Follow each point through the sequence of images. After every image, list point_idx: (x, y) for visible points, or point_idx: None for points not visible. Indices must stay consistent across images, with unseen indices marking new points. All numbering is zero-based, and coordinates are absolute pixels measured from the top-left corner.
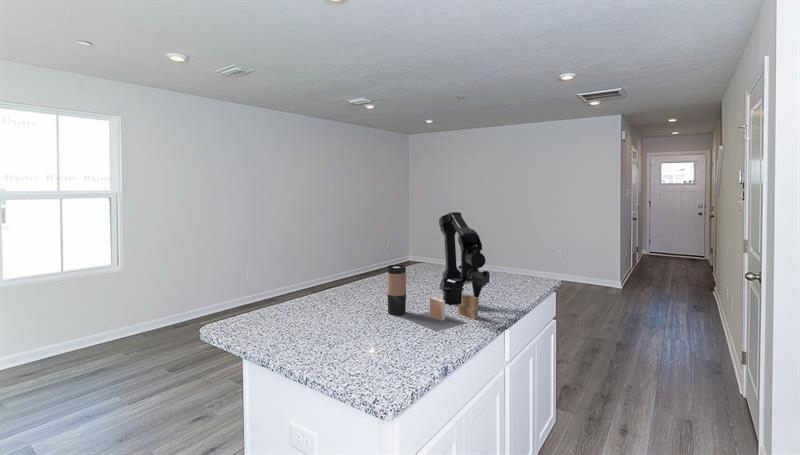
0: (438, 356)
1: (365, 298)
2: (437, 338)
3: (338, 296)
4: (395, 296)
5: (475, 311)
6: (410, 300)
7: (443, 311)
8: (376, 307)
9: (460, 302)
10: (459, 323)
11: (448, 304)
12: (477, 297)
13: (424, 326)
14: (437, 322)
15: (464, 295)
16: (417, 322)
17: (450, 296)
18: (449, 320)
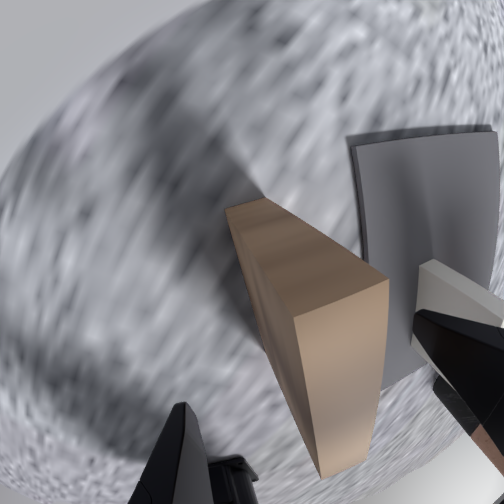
0: (499, 3)
1: (398, 466)
2: (498, 83)
3: (419, 462)
4: None
5: (279, 218)
6: (329, 479)
7: (463, 282)
8: (435, 419)
9: (433, 314)
10: (402, 166)
11: (246, 463)
12: (297, 333)
13: (498, 208)
14: (458, 236)
15: (370, 427)
16: (489, 263)
17: (241, 495)
18: (411, 245)
